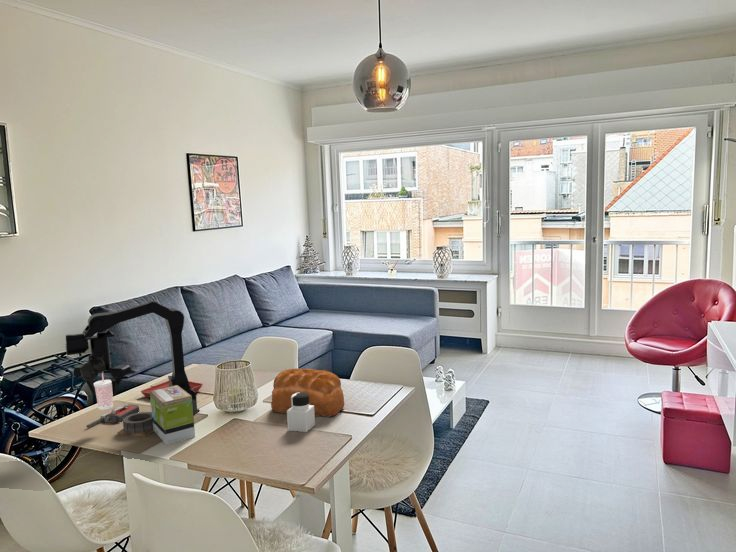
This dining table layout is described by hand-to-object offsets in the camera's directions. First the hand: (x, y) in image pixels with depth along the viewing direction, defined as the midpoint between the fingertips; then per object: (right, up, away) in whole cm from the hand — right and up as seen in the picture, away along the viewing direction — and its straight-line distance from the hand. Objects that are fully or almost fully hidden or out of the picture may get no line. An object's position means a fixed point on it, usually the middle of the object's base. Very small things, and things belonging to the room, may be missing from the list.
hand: (104, 394), depth 196 cm
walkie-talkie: (-2, -12, +12) cm, 17 cm away
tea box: (+26, -13, -4) cm, 29 cm away
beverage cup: (0, -5, +1) cm, 5 cm away
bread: (+69, -9, +16) cm, 71 cm away
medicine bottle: (+69, -11, -2) cm, 70 cm away
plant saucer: (+10, -9, +39) cm, 41 cm away
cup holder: (+12, -12, +1) cm, 17 cm away
